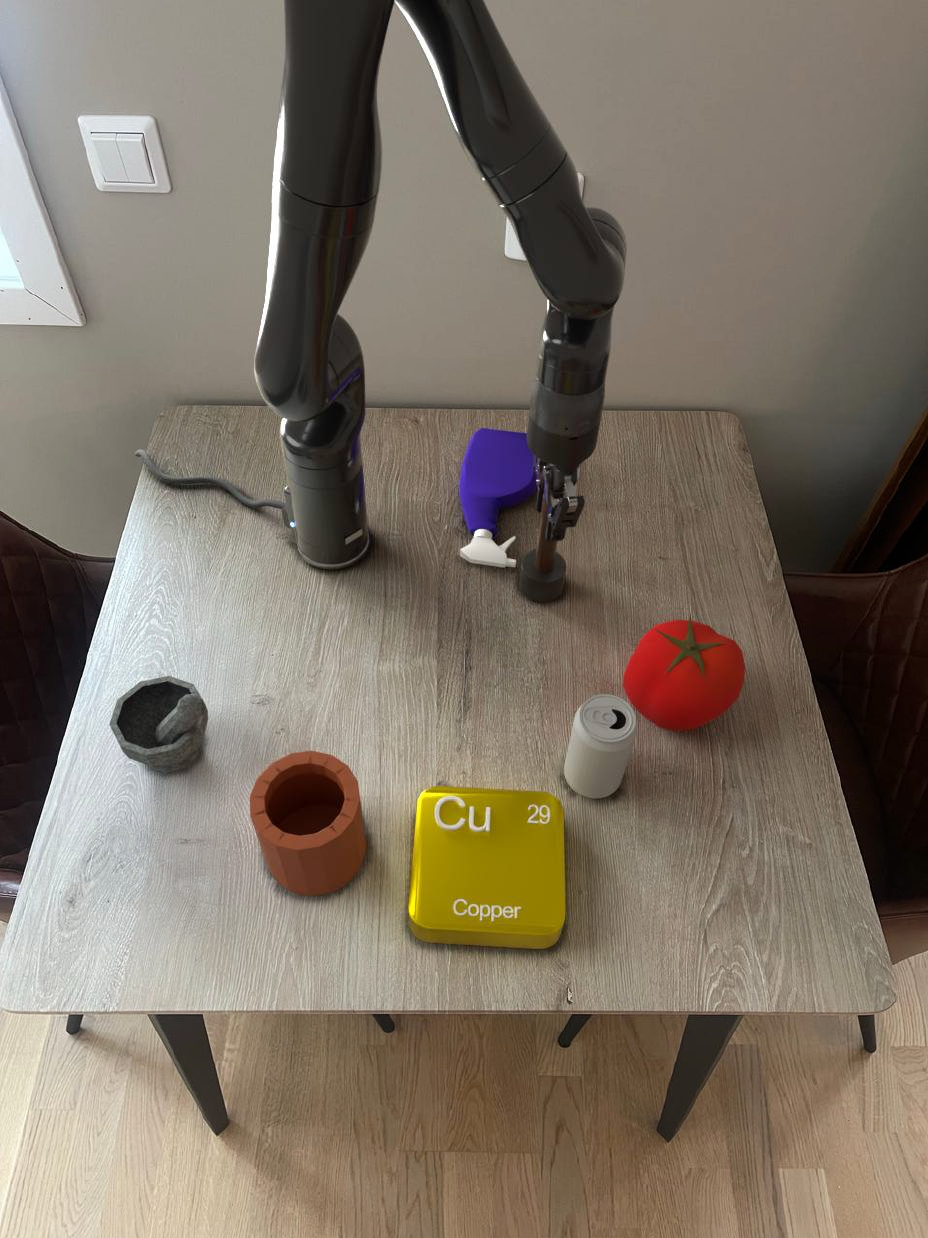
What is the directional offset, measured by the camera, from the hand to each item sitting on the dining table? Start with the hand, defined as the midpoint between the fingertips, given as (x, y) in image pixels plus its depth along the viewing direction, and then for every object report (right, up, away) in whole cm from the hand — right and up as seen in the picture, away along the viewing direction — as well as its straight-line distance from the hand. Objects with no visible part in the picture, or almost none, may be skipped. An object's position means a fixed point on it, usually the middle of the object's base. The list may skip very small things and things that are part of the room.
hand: (549, 524), depth 110 cm
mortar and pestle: (-42, -26, -7) cm, 50 cm away
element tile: (-8, -37, -15) cm, 41 cm away
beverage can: (+4, -29, -8) cm, 30 cm away
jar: (-25, -35, -14) cm, 45 cm away
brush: (0, -7, +9) cm, 11 cm away
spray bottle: (-6, +5, +18) cm, 20 cm away
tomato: (+14, -21, -2) cm, 26 cm away
